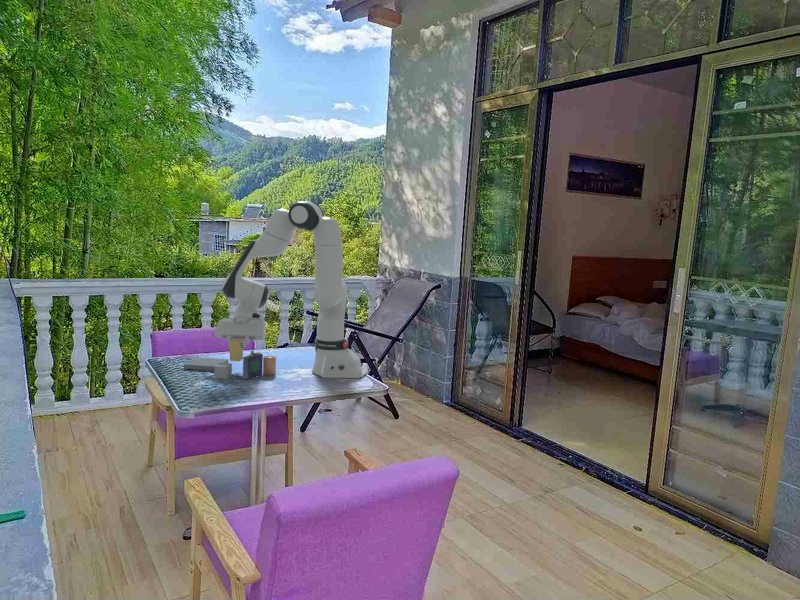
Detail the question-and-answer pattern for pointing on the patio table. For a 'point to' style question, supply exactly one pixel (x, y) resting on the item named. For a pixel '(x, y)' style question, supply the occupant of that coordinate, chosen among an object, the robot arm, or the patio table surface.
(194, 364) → the slate tile
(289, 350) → the patio table surface
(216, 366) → the grey block
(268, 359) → the brown upright cylinder
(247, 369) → the flask
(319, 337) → the robot arm
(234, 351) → the ochre block
